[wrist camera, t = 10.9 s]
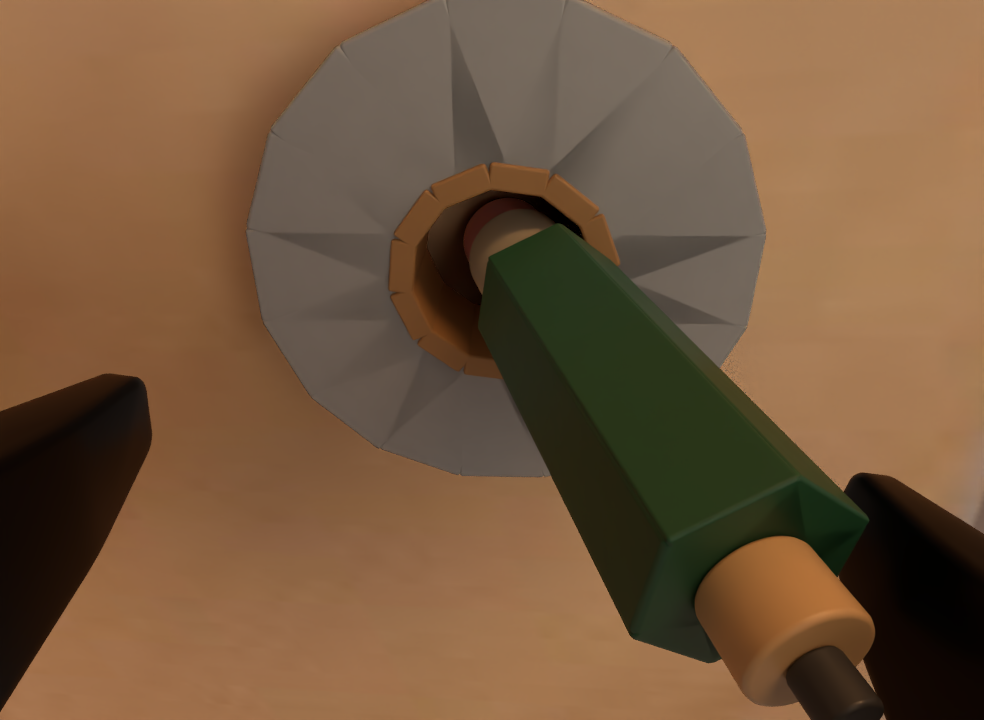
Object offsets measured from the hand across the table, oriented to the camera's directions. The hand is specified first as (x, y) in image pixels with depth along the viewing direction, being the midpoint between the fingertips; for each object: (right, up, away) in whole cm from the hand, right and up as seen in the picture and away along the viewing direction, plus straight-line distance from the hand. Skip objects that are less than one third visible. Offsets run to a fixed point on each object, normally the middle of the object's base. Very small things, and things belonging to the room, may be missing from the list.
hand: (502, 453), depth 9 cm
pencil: (0, +4, +7) cm, 8 cm away
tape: (0, +4, +7) cm, 8 cm away
